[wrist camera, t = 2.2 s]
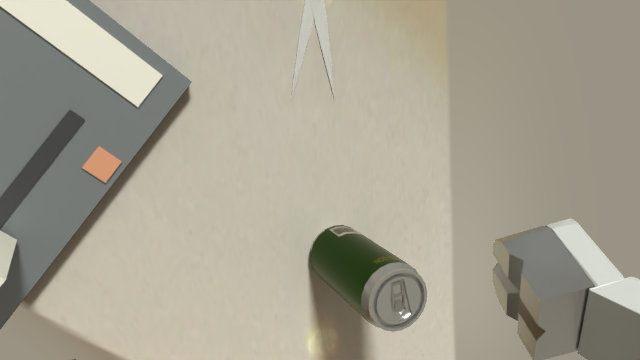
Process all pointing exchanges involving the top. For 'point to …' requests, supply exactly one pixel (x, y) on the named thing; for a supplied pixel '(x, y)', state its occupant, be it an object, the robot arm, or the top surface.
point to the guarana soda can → (369, 278)
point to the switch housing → (67, 123)
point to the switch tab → (5, 254)
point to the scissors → (311, 13)
